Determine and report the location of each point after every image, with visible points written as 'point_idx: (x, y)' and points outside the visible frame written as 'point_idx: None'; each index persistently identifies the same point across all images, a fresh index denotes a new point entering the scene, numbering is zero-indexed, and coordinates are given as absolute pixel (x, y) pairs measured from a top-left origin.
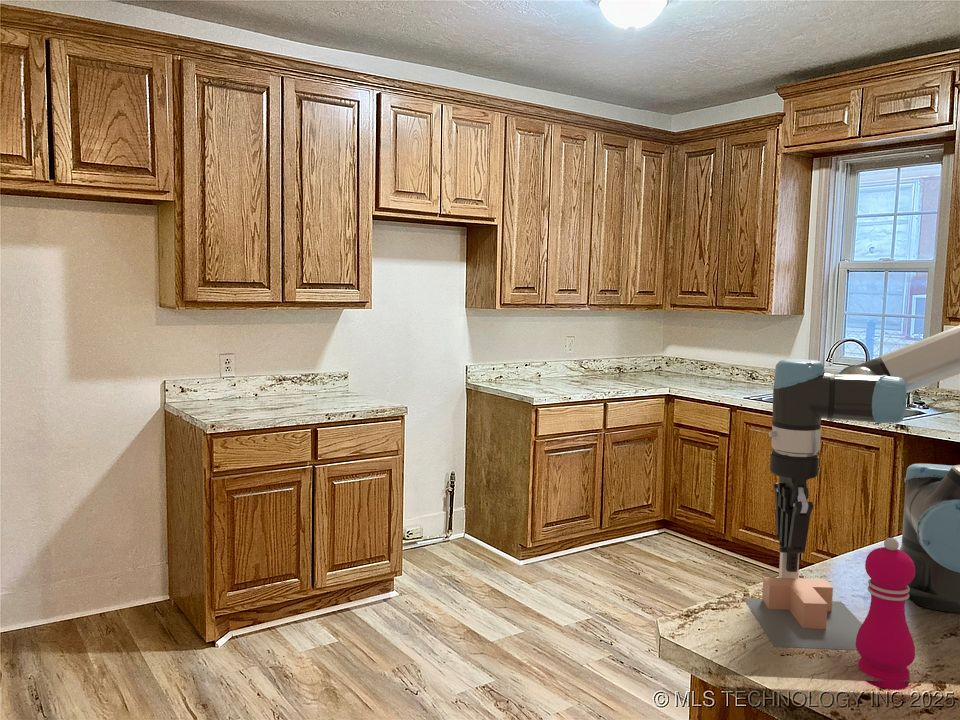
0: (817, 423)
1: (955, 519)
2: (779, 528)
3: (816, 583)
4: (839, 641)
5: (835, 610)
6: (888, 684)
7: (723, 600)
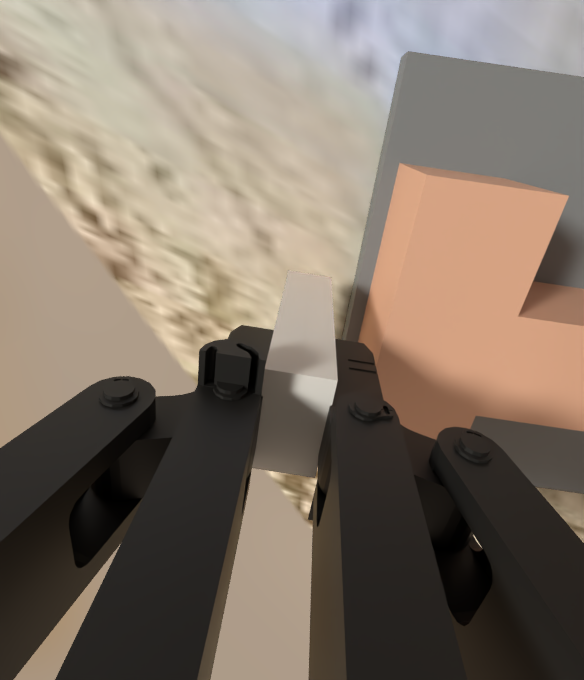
0: None
1: None
2: (100, 557)
3: (479, 267)
4: None
5: (500, 151)
6: None
7: (281, 473)
